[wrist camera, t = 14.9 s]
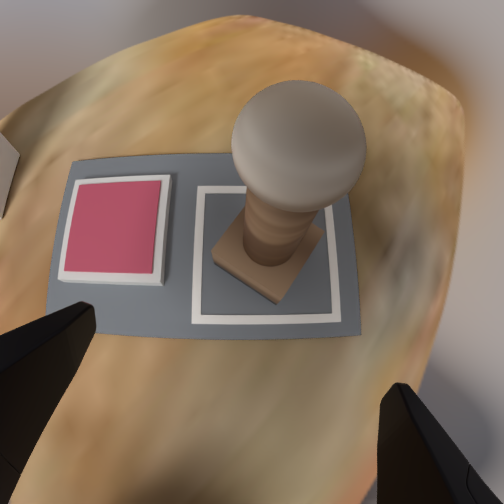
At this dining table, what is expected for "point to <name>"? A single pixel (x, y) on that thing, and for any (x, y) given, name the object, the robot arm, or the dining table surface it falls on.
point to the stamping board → (187, 255)
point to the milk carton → (6, 169)
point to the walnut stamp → (288, 180)
